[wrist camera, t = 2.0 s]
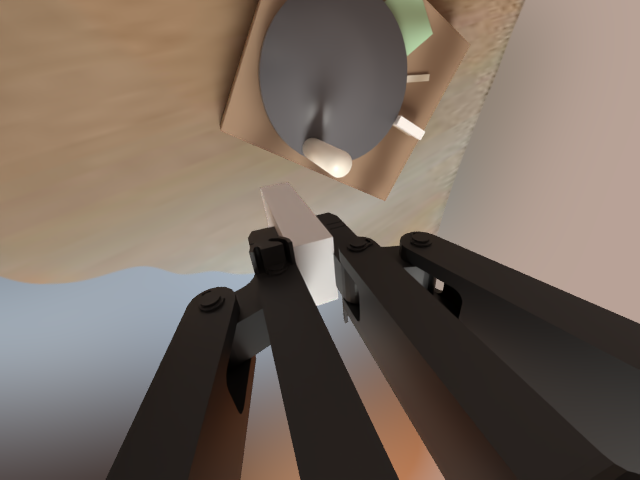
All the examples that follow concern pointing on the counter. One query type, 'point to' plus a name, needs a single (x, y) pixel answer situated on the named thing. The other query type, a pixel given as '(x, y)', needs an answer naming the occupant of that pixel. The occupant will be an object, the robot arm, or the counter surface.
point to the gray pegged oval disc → (334, 79)
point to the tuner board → (417, 107)
